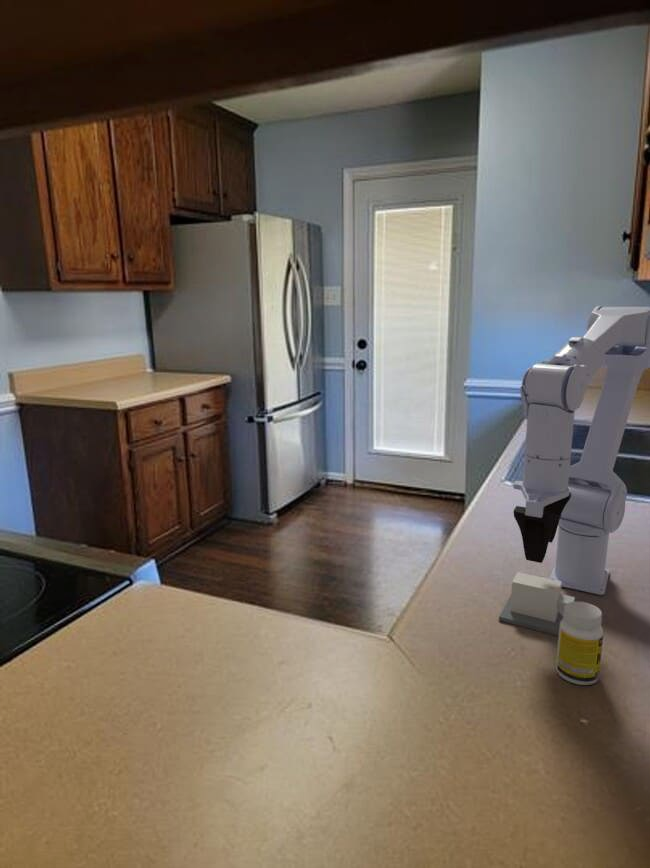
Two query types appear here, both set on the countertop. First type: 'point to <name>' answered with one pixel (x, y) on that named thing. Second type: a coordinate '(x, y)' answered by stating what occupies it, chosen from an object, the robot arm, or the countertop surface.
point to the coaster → (531, 620)
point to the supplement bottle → (580, 643)
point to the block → (537, 597)
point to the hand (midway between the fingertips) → (539, 550)
